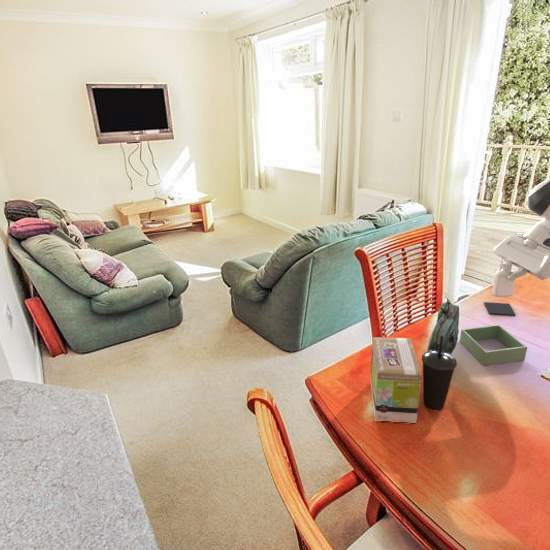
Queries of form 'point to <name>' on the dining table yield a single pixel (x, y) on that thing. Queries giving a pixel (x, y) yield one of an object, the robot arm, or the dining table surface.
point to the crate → (511, 354)
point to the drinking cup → (437, 376)
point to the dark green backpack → (445, 328)
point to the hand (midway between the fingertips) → (503, 276)
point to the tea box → (395, 379)
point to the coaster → (499, 309)
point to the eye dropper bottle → (503, 281)
